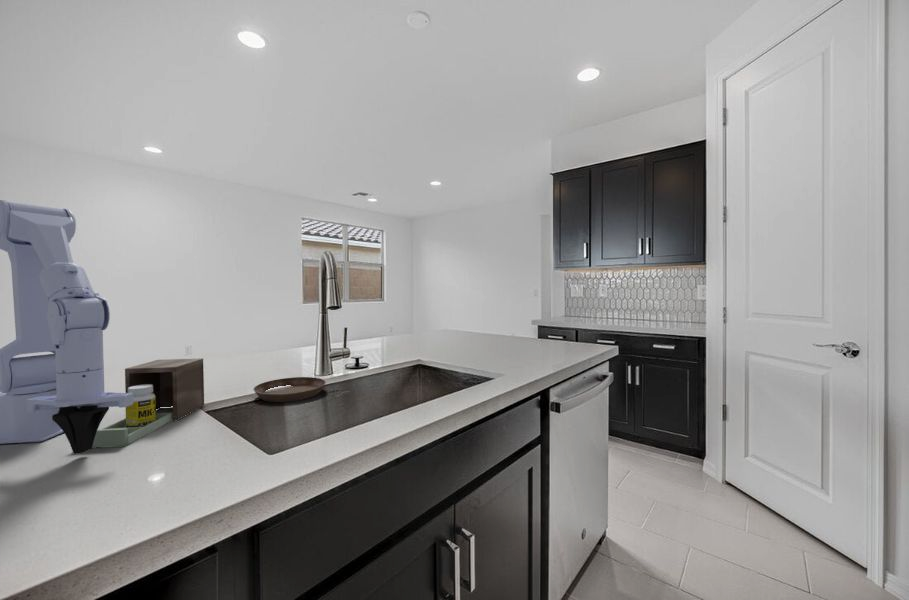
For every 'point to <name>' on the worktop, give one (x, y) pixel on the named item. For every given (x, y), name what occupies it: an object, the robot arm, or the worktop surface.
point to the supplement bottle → (141, 406)
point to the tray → (127, 432)
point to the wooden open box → (171, 383)
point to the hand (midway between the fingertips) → (82, 451)
